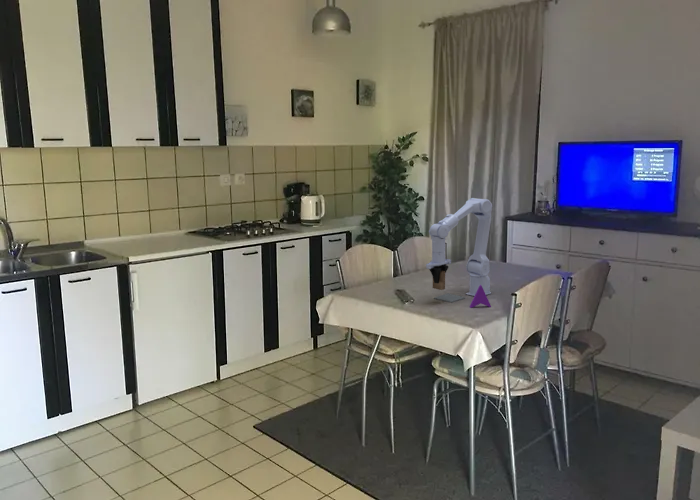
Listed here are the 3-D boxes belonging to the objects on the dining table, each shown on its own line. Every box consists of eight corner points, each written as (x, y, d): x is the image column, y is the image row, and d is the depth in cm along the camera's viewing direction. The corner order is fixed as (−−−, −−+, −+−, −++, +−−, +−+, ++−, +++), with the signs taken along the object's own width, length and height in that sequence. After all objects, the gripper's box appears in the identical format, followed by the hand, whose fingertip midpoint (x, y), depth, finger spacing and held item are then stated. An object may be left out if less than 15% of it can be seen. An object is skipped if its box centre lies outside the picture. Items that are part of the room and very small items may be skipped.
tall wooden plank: (436, 287, 259) (436, 269, 257) (445, 289, 255) (445, 271, 253) (432, 288, 257) (432, 270, 255) (441, 290, 253) (441, 272, 252)
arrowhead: (479, 316, 251) (496, 300, 250) (480, 317, 249) (497, 301, 248) (463, 301, 249) (480, 284, 248) (464, 302, 248) (481, 285, 247)
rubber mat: (447, 294, 271) (447, 293, 271) (465, 298, 263) (465, 297, 263) (433, 298, 264) (433, 297, 264) (451, 302, 257) (451, 301, 257)
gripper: (442, 248, 261) (442, 278, 263) (420, 253, 251) (420, 283, 254) (454, 250, 256) (454, 280, 258) (433, 255, 246) (433, 286, 248)
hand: (438, 282), depth 255 cm, fingers closed on tall wooden plank, 2 cm apart
